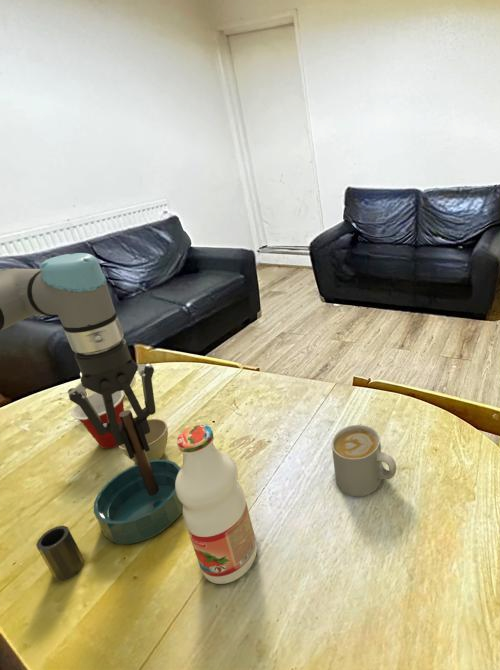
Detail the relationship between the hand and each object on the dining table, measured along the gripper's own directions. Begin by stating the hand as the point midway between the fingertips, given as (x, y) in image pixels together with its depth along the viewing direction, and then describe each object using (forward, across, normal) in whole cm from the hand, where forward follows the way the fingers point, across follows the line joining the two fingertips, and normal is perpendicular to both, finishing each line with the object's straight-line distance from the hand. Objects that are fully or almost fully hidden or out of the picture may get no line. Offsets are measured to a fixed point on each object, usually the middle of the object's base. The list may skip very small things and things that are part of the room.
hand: (138, 450), depth 80 cm
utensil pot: (+13, -15, -5) cm, 21 cm away
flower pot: (+13, +2, +14) cm, 19 cm away
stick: (+11, 0, 0) cm, 11 cm away
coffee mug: (+13, +35, -26) cm, 45 cm away
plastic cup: (+14, -4, +27) cm, 30 cm away
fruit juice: (+13, +7, -23) cm, 27 cm away
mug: (+14, +1, +46) cm, 48 cm away
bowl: (+13, -2, -2) cm, 14 cm away
